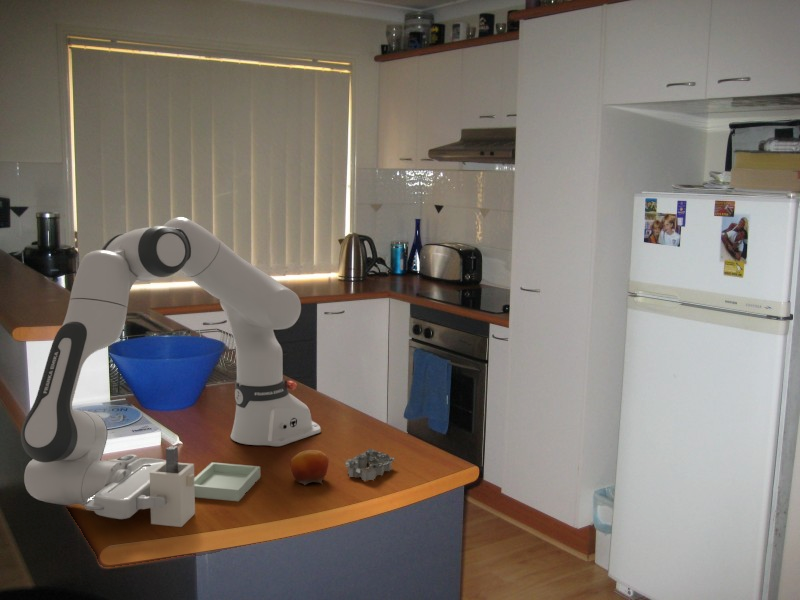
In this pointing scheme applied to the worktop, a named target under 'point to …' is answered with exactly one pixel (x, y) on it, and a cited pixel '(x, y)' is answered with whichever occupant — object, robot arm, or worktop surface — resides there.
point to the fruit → (309, 466)
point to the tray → (225, 481)
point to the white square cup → (173, 494)
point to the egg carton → (376, 464)
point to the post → (172, 459)
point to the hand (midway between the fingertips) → (176, 491)
